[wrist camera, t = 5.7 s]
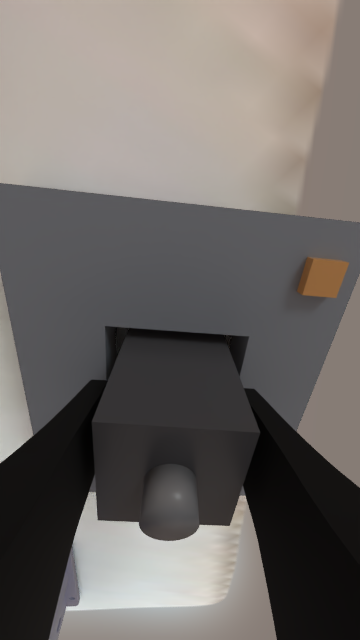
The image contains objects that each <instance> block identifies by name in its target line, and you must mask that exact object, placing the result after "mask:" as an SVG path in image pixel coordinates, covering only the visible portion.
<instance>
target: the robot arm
mask: <svg viewBox="0 0 360 640" xmlns="http://www.w3.org/2000/svg"><path fill="white" fill-rule="evenodd" d="M107 382H108V380H90V381H89V382H88V383H87V384H86V385H85V386H84V387H83V388H82V389H81V390H80V391H79V392H78V393H77V395H76V396H75V397H74V398H73V399H72V400H71V401H70V402H69V403H68V404H67V405H66V406H65V407H64V408H63V409H62V410H61V411H59V412H58V413H57V414H56V415H55V416H54V417H53V418H52V419H51V420H50V421H49V422H48V423H47V424H46V425H45V426H44V427H43V428H41V429H40V430H39V431H38V432H37V433H36V434H35V435H34V436H32V437H31V438H30V439H29V440H28V441H27V442H26V443H24V444H23V445H22V446H21V447H20V448H19V449H17V450H16V451H15V452H14V453H13V454H11V455H10V456H9V457H8V458H6V459H5V460H4V461H3V462H1V463H0V640H58V636H59V632H60V629H61V625H62V621H63V617H64V613H65V610H66V606H77V605H78V604H79V600H80V595H79V588H78V582H77V575H76V569H75V562H74V555H73V549H72V544H73V540H74V536H75V533H76V529H77V526H78V523H79V520H80V517H81V514H82V511H83V508H84V505H85V502H86V499H87V496H88V493H89V490H90V487H91V484H92V481H93V478H94V475H95V467H94V450H93V434H92V420H93V417H94V415H95V412H96V410H97V407H98V405H99V402H100V400H101V397H102V395H103V392H104V390H105V387H106V384H107ZM244 390H245V393H246V396H247V398H248V401H249V404H250V406H251V409H252V412H253V414H254V417H255V420H256V422H257V425H258V428H259V431H260V435H259V438H258V441H257V444H256V447H255V450H254V453H253V456H252V459H251V462H250V465H249V468H248V471H247V474H246V477H245V480H244V484H243V488H244V492H245V495H246V499H247V502H248V505H249V509H250V512H251V516H252V519H253V523H254V527H255V531H256V535H257V539H258V543H259V548H260V553H261V558H262V563H263V568H264V572H265V577H266V583H267V588H268V593H269V599H270V604H271V609H272V614H273V620H274V625H275V631H276V637H277V640H360V488H359V487H358V486H357V485H355V484H354V483H353V482H352V481H351V480H349V479H348V478H347V477H346V476H345V475H343V474H342V473H341V472H340V471H338V470H337V469H336V468H335V467H334V466H333V465H331V464H330V463H329V462H328V461H327V460H326V459H325V458H324V457H323V456H322V455H320V454H319V453H318V452H317V451H316V450H315V449H314V448H313V447H312V446H311V445H309V444H308V443H307V442H306V441H305V440H304V439H303V438H302V437H301V436H300V435H299V434H298V433H297V432H296V431H295V430H294V429H293V428H292V427H291V426H290V425H289V424H288V423H287V422H286V421H285V420H284V419H283V418H282V417H281V416H280V415H279V414H278V413H277V412H276V411H275V409H274V408H273V407H272V406H271V405H270V404H269V403H268V402H267V401H266V400H265V399H264V398H263V397H262V396H261V395H260V394H259V393H258V392H257V391H256V390H255V389H251V388H244Z"/></svg>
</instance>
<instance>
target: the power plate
mask: <svg viewBox="0 0 360 640" xmlns="http://www.w3.org/2000/svg"><path fill="white" fill-rule="evenodd" d="M0 271H1V276H2V281H3V286H4V291H5V296H6V301H7V306H8V311H9V316H10V321H11V326H12V331H13V336H14V341H15V345H16V350H17V355H18V360H19V365H20V370H21V375H22V380H23V385H24V390H25V395H26V400H27V405H28V410H29V415H30V420H31V425H32V430H33V435H35V434H36V433H37V432H38V431H39V430H40V429H41V428H43V427H44V426H45V425H46V424H47V423H48V422H49V421H50V420H51V419H52V418H53V417H54V416H55V415H56V414H57V413H58V412H59V411H61V410H62V409H63V408H64V407H65V406H66V405H67V404H68V403H69V402H70V401H71V400H72V399H73V398H74V397H75V396H76V395H77V393H78V392H79V391H80V390H81V389H82V388H83V387H84V386H85V385H86V384H87V383H88V382H89V381H90V380H108V379H109V377H110V374H111V372H112V369H113V367H114V364H115V362H116V327H125V328H139V329H153V330H166V331H180V332H194V333H208V334H222V335H232V340H231V345H230V349H229V350H230V353H231V355H232V358H233V361H234V363H235V366H236V369H237V371H238V374H239V377H240V380H241V382H242V385H243V388H251V389H255V390H256V391H257V392H258V393H259V394H260V395H261V396H262V397H263V398H264V399H265V400H266V401H267V402H268V403H269V404H270V405H271V406H272V407H273V408H274V409H275V411H276V412H277V413H278V414H279V415H280V416H281V417H282V418H283V419H284V420H285V421H286V422H287V423H288V424H289V425H290V426H291V427H292V428H293V429H294V430H295V431H297V428H298V426H299V423H300V421H301V418H302V416H303V413H304V411H305V408H306V406H307V403H308V401H309V398H310V396H311V394H312V391H313V388H314V386H315V384H316V381H317V379H318V376H319V374H320V371H321V368H322V366H323V364H324V361H325V359H326V356H327V353H328V351H329V349H330V346H331V344H332V341H333V339H334V336H335V333H336V331H337V329H338V326H339V323H340V321H341V318H342V316H343V314H344V311H345V309H346V306H347V304H348V301H349V299H350V296H351V294H352V291H353V289H354V286H355V284H356V281H357V279H358V276H359V274H360V223H359V222H350V221H341V220H332V219H322V218H314V217H304V216H295V215H286V214H277V213H268V212H259V211H250V210H241V209H231V208H222V207H213V206H204V205H195V204H186V203H177V202H168V201H158V200H149V199H140V198H131V197H122V196H113V195H104V194H94V193H85V192H76V191H67V190H58V189H49V188H40V187H30V186H21V185H12V184H3V183H0ZM89 492H96V483H95V475H94V478H93V481H92V484H91V487H90V490H89ZM240 495H245V492H244V488H243V487H242V490H241V493H240Z"/></svg>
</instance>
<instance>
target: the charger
mask: <svg viewBox="0 0 360 640" xmlns="http://www.w3.org/2000/svg"><path fill="white" fill-rule="evenodd" d="M92 434H93V450H94V467H95V483H96V499H97V515H98V520H105V521H129V522H139V526H140V529H141V530H142V532H143V533H144V534H146V535H147V536H149V537H151V538H154V539H158V540H164V541H174V540H180V539H184V538H187V537H189V536H191V535H192V534H194V533H195V532H196V531H197V529H198V528H199V525H222V526H230V523H231V520H232V517H233V514H234V511H235V508H236V505H237V502H238V499H239V496H240V493H241V490H242V487H243V484H244V480H245V477H246V474H247V471H248V468H249V465H250V462H251V459H252V456H253V453H254V450H255V447H256V444H257V441H258V438H259V435H260V431H259V428H258V425H257V422H256V420H255V417H254V414H253V412H252V409H251V406H250V404H249V401H248V398H247V396H246V393H245V390H244V388H243V385H242V382H241V380H240V377H239V374H238V371H237V369H236V366H235V363H234V361H233V358H232V355H231V353H230V350H229V347H228V345H227V342H226V339H225V337H224V335H222V334H208V333H194V332H180V331H166V330H153V329H139V328H129V329H128V331H127V334H126V337H125V339H124V342H123V344H122V347H121V349H120V352H119V354H118V357H117V359H116V362H115V364H114V367H113V369H112V372H111V374H110V377H109V379H108V382H107V384H106V387H105V390H104V392H103V395H102V397H101V400H100V402H99V405H98V407H97V410H96V412H95V415H94V417H93V420H92Z"/></svg>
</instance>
